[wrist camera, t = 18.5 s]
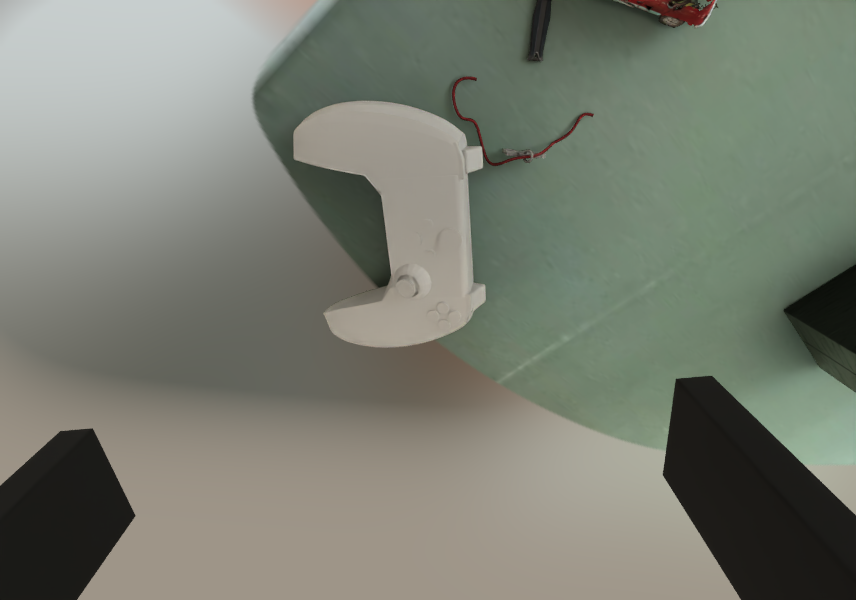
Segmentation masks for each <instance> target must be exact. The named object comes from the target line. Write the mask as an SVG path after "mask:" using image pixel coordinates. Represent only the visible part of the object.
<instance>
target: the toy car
mask: <svg viewBox="0 0 856 600" xmlns="http://www.w3.org/2000/svg"><path fill="white" fill-rule="evenodd" d="M612 1H617V2H620V3H623V4H626V5H627V6H631V4H633V5H635V7H637V8H640V9H642V10H644V11H646V12H650V13H653V14H655V15H658V16H659V15H660V17H659V22H660V23H662V24H665V25H668V26H670V27H673V28H675V27H677V26H680V25H682V24H683V23H684V22H685V21H686V22H687V23H688V25H690V26H692V24H694V28H698V27H701V26H703V25H704V23H706V20H707V18H709V17H710V16H711V12H712V10H713V9H714V6H715V4H716V7H717V8H718V6H717V3H716V2H717V0H713V1H712V2H711V4H708V6H705V7H703V10H700V11H699V10H698V9H701V7H702V6H703V5H702V6H701V7H699V5H698V4H700V3H698V0H628V1H625V0H621V1H620V0H612ZM623 1H624V2H623ZM706 1H708V2H709V1H711V0H706ZM628 2H629V3H631V4H630V5H628V4H627V3H628ZM695 3H696V4H695ZM705 5H706V4H705ZM631 7H633V6H631ZM635 7H633V8H635ZM651 7H653V8H651ZM669 7H670V8H669ZM678 7H679V8H678ZM681 7H682V8H681ZM675 8H678V9H677V10H675Z"/></svg>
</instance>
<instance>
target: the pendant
mask: <svg viewBox="0 0 856 600" xmlns="http://www.w3.org/2000/svg"><path fill="white" fill-rule="evenodd" d="M462 80H475V81H476V80H477V78H475V77H462V78H460V79H458V80H457V81H456V82H455V84H454V86H453V90H452V100H453V105H454V109H455V111H456V113H457V115H458V116H459V117H460V118H461V119H462V120H466V121H471V122H473V123H474V125H475V127H476V129H477V133H478V136H479V140H480V144H481V147H482V151H483V154H484V157H485V159H486V161H487V162H488V163H489V164H490V165H492V166H498V165H502V164H504V163H507V162H510V161H513V160H517V159H523V160H524V162H526V163H530V162H531V161H532V159H533V158H545V156H546V154H543V153H545V152H546V151H547V150H548V149H549V148H550V147H551V146H552V145H554V144H555V143H557V142H559V141H561V140H563V139H564V138H566V137H567V136H569V135H570V134H571V133H572V132H573V130H574V129H575V127H576V126H577V124H578V123H579V121H580V119H581V118H582V117H583V116H585V115H588V116H592V117H593V115H594V114H591V113H583V114H582V115H581V116H580V117H579V118H578V119H577V121H576V123H575V124H574V126H573V127H572V129H571V130H570V131H569V132H568V133H567V134H566V135H564V136H563V137H561V138H559V139H557V140H556V141H554V142H552V143H551V144H550V145H549V146H548V147H547V148H546V149H544V150H543V151H541V152H540V153H534V152H532V151H531V150H526V151H516V150H513V149H503V148H502V152H503V153H505V154H506V155H510V156H518V157H513V158H510V159H507V160H505V161H502V162H499V163H492V162H490V161H489V159H488V158H487V155H486V152H485V149H484V146H483V142H482V138H481V134H480V130H479V127H478V125H477V123H476V122H475V120H473V119H471V118H465V117H462V116H461V115H460V113H459V112H458V109H457V106H456V103H455V88H456V86H457V84H458V83H459V82H460V81H462ZM525 158H530V160H528V161H527V160H526V159H525Z"/></svg>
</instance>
